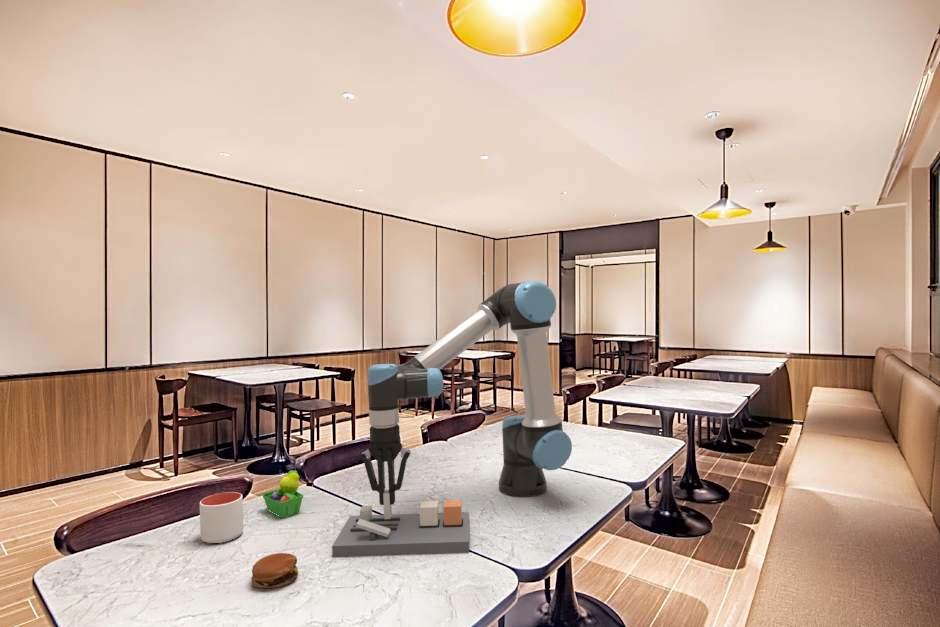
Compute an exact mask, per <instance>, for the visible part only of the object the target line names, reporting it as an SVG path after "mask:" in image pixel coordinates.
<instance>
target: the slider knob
mask: <svg viewBox="0 0 940 627" xmlns="http://www.w3.org/2000/svg"><path fill="white" fill-rule="evenodd" d="M359 515H360V519H362V520H365V521H368V522H371V523H372V515H373V506H372V505H362V506H361V508H360V510H359Z"/></svg>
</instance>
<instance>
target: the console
mask: <svg viewBox="0 0 940 627" xmlns="http://www.w3.org/2000/svg"><path fill="white" fill-rule="evenodd" d="M359 519H360V514H359V515H349V516H348V519H347V520H346V522H345V523H344V525H343V527H342V529H341V530H340V532H339V533H338V536H337V537H336V539H335V541H334V542H333V544H332V545H331V555H332V558H336V557H338V558H340V557H363V556H364V557H365V556H366V557H368V556H390V555H391V556H395V555H397V556H398V555H399V556H400V555H424V554H426V555H428V554H430V555H431V554H452V553H453V554H458V553H460V554H461V553H469V552H470V512H469V511H462V525H444V512H439V520H438V525H437V526H420V513H396V514H394V513H392V516H391V518H390V519H384V514H372V523H374V524H377V525H380V526H383V527H387V528H390V532H389V535H388V537H385V536H382V535H379V534H376V533H373V532H370V531H367V530H364V529H361V528H358V527H356V525H357V522H358V521H359Z"/></svg>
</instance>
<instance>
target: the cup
mask: <svg viewBox="0 0 940 627" xmlns="http://www.w3.org/2000/svg"><path fill="white" fill-rule="evenodd" d="M243 505H244V502H243V493H240V492H237V491H236V492H235V491H231V492H230V491H229V492H228V491H227V492H221V493H220V492H219V493H215V494H212V495H208V496H206V497H204V498H202V499H201V500H200V502H199V524H200V525H199V527H200V539H201V540H202V541H203V543H205V542H207V543H206V544H209V543H219V544H222V543H221V542H224V543H227V542H226V541H228V542H231V541H233V540H235V539H237V538H238V537H240V535H242V533H243V532H244V506H243ZM232 539H233V540H232ZM230 540H231V541H230Z"/></svg>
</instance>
